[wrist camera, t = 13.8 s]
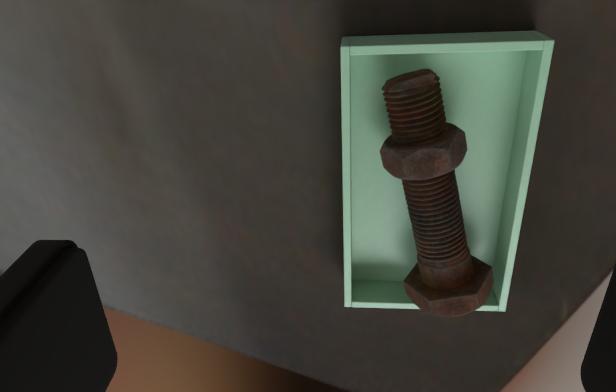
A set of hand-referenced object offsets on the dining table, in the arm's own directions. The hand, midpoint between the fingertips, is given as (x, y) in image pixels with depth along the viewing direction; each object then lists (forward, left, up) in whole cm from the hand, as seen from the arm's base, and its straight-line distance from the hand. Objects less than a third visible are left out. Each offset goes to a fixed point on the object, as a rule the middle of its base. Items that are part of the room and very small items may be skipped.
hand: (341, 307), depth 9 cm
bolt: (+5, -8, -23) cm, 25 cm away
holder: (+5, -8, -23) cm, 25 cm away
